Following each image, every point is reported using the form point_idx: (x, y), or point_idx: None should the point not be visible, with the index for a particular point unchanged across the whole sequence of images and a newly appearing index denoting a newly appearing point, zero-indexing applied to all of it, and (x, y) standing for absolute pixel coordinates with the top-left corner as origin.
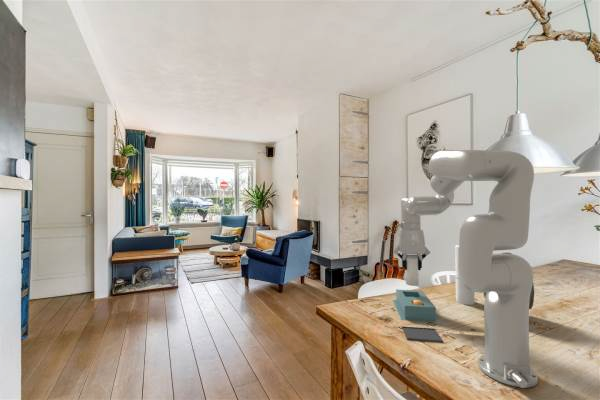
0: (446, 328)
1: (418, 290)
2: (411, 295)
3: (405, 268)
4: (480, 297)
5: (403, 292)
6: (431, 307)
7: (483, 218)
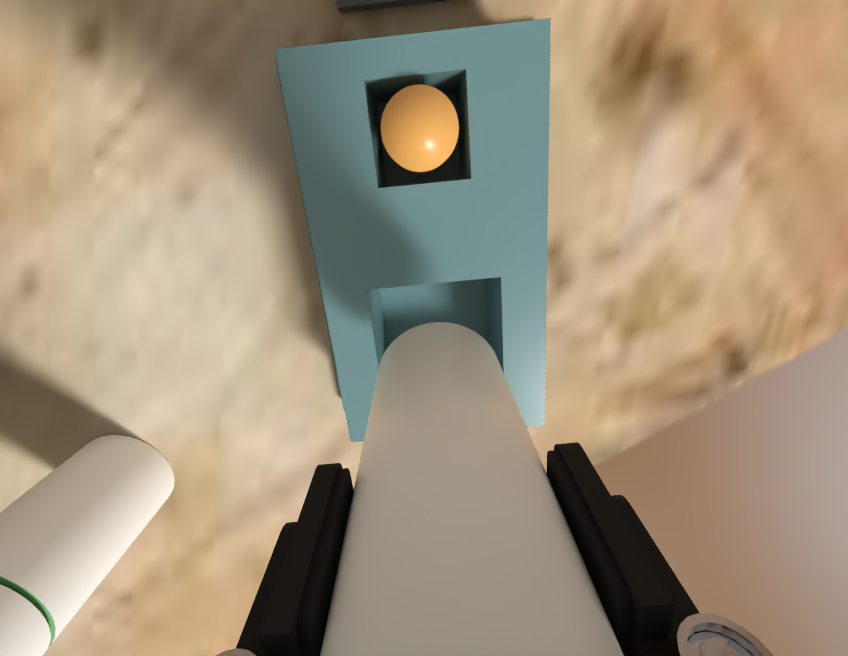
0: (251, 9)
1: None
2: None
3: (576, 454)
4: None
5: None
6: (310, 46)
7: None
